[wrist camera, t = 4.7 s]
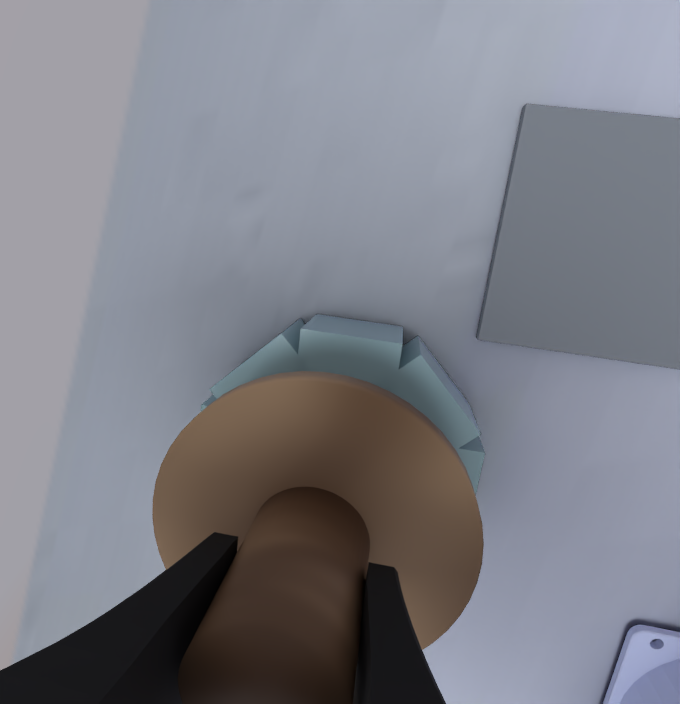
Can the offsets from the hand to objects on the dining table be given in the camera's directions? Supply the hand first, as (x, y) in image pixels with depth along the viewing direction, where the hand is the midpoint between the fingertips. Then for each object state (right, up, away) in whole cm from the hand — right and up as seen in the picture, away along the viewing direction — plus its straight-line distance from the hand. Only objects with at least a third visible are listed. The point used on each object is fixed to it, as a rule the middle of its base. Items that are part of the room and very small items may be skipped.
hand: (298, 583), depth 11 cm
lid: (0, +1, +2) cm, 2 cm away
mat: (+11, +9, +5) cm, 15 cm away
